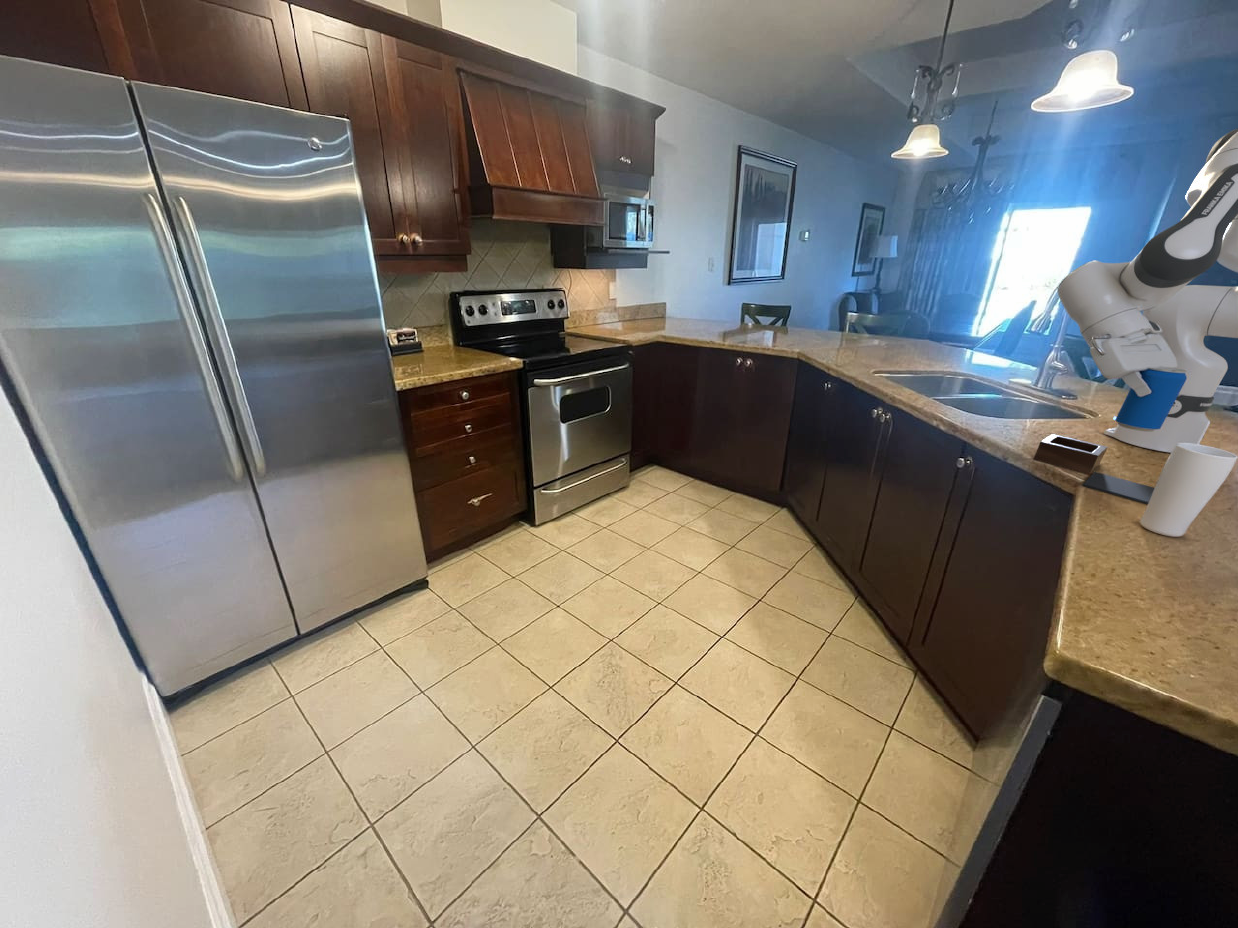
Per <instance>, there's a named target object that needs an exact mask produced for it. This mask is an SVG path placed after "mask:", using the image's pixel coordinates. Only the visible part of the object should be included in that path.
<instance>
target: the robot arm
mask: <svg viewBox="0 0 1238 928" xmlns="http://www.w3.org/2000/svg"><path fill="white" fill-rule="evenodd" d="M1185 200H1186V202H1187V204H1188V205H1189V206H1190V208H1189V209H1188V211H1187V212H1186V213H1185V215H1184V216H1183V217H1182V218H1181V219H1180V220H1179V221H1178V222H1176V223H1175V224H1173V225H1172V226H1170V227H1168V228H1167V229H1165V230H1163V231H1160V232H1159V233H1158V234H1156V235H1155V236H1153V237H1152V238H1150V239H1149V240H1148V242H1146V243H1145V245H1144V246H1143V248H1142V249H1140V252H1139V253H1138V254H1137V255H1136V256H1135V257H1134V258H1133V259H1132V260H1131V261H1127V262H1102V261H1100V260H1095V259H1094V260H1091V261H1088V262H1086V263H1083V264H1082V265H1080V266H1078V267H1076V268H1075V269H1074V270H1072V271H1071V272H1070V273H1069V274H1067V275H1066V276H1065V277H1064V278H1063V279H1062V280H1061V282H1060V283H1059V285H1058V287H1057V295H1058V297H1059V300H1060V303H1061V304H1062V306H1063V308H1064V310H1065V311H1066V313H1067V315H1068V316H1069V318H1070V319H1071V321H1073V322H1075V323H1076V324H1077V325H1078V328H1079V332H1080V335H1081V337H1082V338H1083V339H1084V341H1085V343H1086V344H1087V345H1088V347H1089V353H1090V355H1091V358H1092V360H1093V362H1094V364H1095V366H1096V367H1097V369H1098V371H1099V373H1100V374H1101V375H1102V376H1103V377H1104V378H1105V379H1106V380H1117V379H1118V380H1119V379H1122V381H1123V382H1124V384H1126V385H1127V386H1129V388H1132V389H1133V390H1134V391H1135V392H1136V393H1137V395H1138V396H1139V397H1143V396H1147V395H1150V394H1152V393H1153V392H1154V390H1153V389H1152V388H1151V386H1150V385H1147V383H1146V382H1145V381H1144V380H1143V379H1142V378H1141V377H1142V376H1141V374H1140V373H1139V371H1145V370H1147V369H1148V367H1149V368H1159V367H1160V366H1162V367H1170V368H1176V369H1181V370H1185V371H1187V372H1186V373H1185V374H1186V377H1187V379H1186V381H1185V383H1184V385H1183V387H1182V389H1181V391H1180V392H1179V394H1178V396H1177V398H1176V400H1175V402H1174V404H1173V406H1172V408H1171V409H1170V411H1169V413H1168V415H1167V417H1166V419H1165V421H1164V423H1163V424H1162V426H1161V428H1160V429H1158V430H1154V431H1152V432H1144V431H1137V430H1132V429H1128V428H1124V427H1121V426H1119V425H1118V424H1117V425H1116V426H1115V427H1112V428H1108V429H1105V430H1104V431H1103V435H1106V436H1109V437H1112V438H1114V439H1117V440H1118V441H1120V442H1123V443H1126V444H1129V445H1132V446H1135V447H1136V446H1137V447H1140V448H1144V449H1149V450H1153V451H1158V452H1164V453H1170V454H1171V452H1172V451H1173V449H1174V447H1175V446H1176V444H1178V443H1193V444H1199V445H1202V444H1201V441H1202V440H1203V439H1204V437H1205V434H1206V432H1207V430H1208V429H1209V427H1210V424H1211V421H1210V420H1209V418H1208V417H1207V415H1206V412H1208V411H1209V409H1210V407H1211V406H1212V405H1213V402H1214V399H1215V397H1214V394H1215V393H1216V391H1217V389H1218V387H1219V385H1220V384H1221V382H1222V380H1223V378H1224V377H1225V375H1226V373H1227V371H1228V369H1229V367H1228V362H1227V360H1226V359H1225V358H1224V357H1223V356H1221V355H1220V354H1218V353H1217V352H1215V351H1213V350H1211V349H1209V348H1208V347H1206V345H1205V343H1204V340H1205V337H1206V336H1207V337H1208V336H1212V337H1222V338H1230V339H1231V338H1232V339H1238V285H1236V286H1227V285H1226V286H1224V285H1201V284H1190V283H1191V282H1192V281H1193V280H1194V279H1196V278H1198V277H1199V276H1200V275H1203V273H1205V272H1207V271H1208V270H1210V268H1212V267H1213V265H1215V263H1216V262H1217V263H1219V264H1220V265H1221V266H1223V267H1224V268H1227V270H1231V271H1233V272H1235V273H1237V274H1238V128H1234V129H1233V130H1230V131H1229V132H1227V133H1226V134H1224V135H1223V136H1222V137H1220V138H1219V139H1218V140H1217V141H1216V142H1215V143H1214V144H1213V146H1212V147H1211V149H1210V150H1209V152H1208V155H1207V157H1206V159H1205V164H1204V166H1203V167H1202V168H1201V169H1200V171H1199V172H1198V173H1197V175H1196V177H1195V178H1194V180H1193V181H1192V183H1191V185H1190V186H1189V189H1188V190H1187V192H1186V195H1185ZM1188 284H1189V285H1188ZM1116 417H1117V416H1113V420H1114V421H1115V419H1116Z"/></svg>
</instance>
